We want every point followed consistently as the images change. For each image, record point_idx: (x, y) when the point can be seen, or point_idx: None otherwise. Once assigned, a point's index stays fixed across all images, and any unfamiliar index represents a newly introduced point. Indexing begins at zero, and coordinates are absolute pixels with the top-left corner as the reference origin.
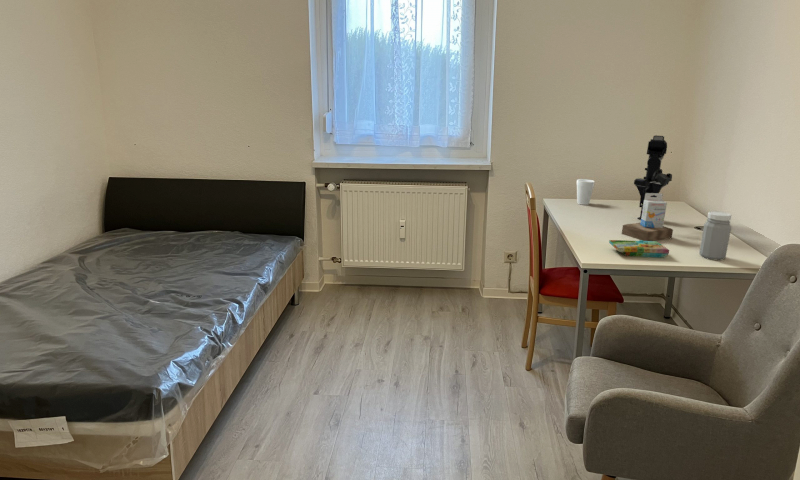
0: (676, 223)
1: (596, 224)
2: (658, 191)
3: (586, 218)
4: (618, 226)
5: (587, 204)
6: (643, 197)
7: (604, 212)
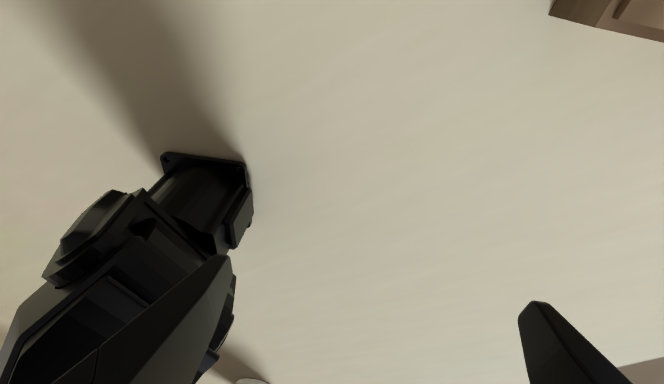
0: (62, 12)
1: (579, 278)
2: (135, 372)
3: (472, 332)
4: (544, 202)
5: (253, 381)
6: (590, 350)
7: (293, 329)
